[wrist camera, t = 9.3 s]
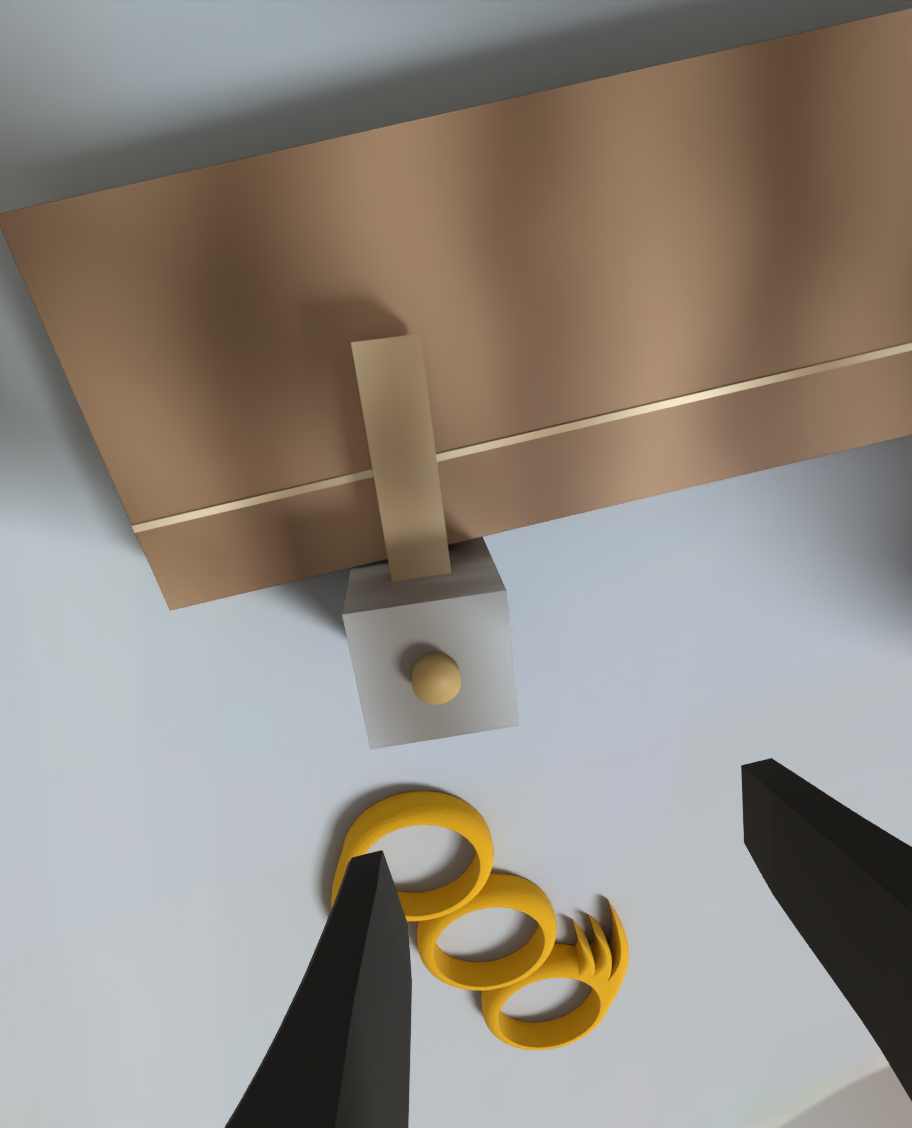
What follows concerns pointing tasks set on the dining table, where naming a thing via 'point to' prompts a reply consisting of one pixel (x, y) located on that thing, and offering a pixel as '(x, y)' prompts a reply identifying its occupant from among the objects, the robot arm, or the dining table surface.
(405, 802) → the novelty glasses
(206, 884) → the dining table surface
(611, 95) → the board
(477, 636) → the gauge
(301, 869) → the dining table surface
